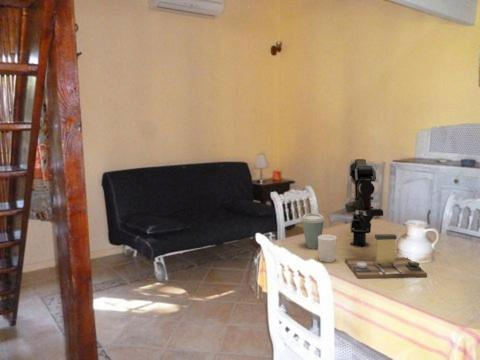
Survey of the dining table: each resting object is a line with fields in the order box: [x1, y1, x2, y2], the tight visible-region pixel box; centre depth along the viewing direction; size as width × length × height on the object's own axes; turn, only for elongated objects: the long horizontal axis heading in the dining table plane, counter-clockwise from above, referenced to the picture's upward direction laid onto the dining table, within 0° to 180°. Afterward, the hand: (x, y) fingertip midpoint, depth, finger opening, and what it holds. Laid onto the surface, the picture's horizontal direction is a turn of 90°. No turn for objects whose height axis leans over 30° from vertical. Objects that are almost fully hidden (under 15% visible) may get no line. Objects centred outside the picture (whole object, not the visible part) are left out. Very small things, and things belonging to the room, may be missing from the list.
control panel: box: [344, 256, 428, 280], centre depth 158 cm, size 18×26×2 cm
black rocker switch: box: [408, 261, 420, 267], centre depth 154 cm, size 4×3×1 cm
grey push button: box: [357, 262, 367, 269], centre depth 154 cm, size 4×4×1 cm
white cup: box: [317, 234, 338, 263], centre depth 170 cm, size 8×8×10 cm
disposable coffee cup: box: [301, 212, 325, 249], centre depth 188 cm, size 11×11×15 cm
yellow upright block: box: [374, 233, 398, 268], centre depth 156 cm, size 4×8×13 cm, turn 90°
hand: (364, 230), depth 172 cm, fingers closed
